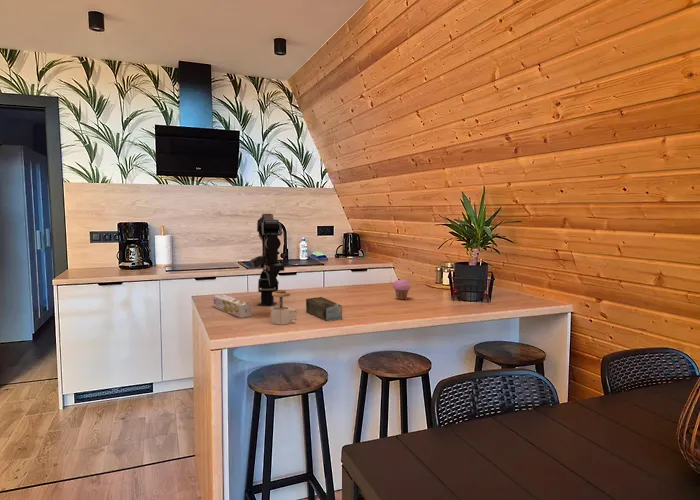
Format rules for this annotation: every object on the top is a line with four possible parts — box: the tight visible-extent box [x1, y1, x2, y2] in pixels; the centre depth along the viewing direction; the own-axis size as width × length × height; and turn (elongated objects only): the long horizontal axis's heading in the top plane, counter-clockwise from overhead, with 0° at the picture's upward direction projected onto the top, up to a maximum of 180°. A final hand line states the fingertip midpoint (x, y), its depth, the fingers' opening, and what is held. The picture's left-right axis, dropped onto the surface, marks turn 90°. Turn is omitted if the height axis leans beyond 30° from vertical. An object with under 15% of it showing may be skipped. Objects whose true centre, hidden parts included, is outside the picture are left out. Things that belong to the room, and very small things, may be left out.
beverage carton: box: [305, 296, 343, 322], centre depth 191 cm, size 8×19×7 cm, turn 31°
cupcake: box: [392, 278, 411, 300], centre depth 229 cm, size 9×9×10 cm
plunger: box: [272, 289, 291, 308], centre depth 178 cm, size 7×7×7 cm
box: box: [212, 294, 252, 319], centre depth 196 cm, size 27×5×6 cm, turn 39°
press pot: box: [270, 305, 297, 326], centre depth 179 cm, size 10×8×6 cm
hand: (271, 286), depth 192 cm, fingers closed
